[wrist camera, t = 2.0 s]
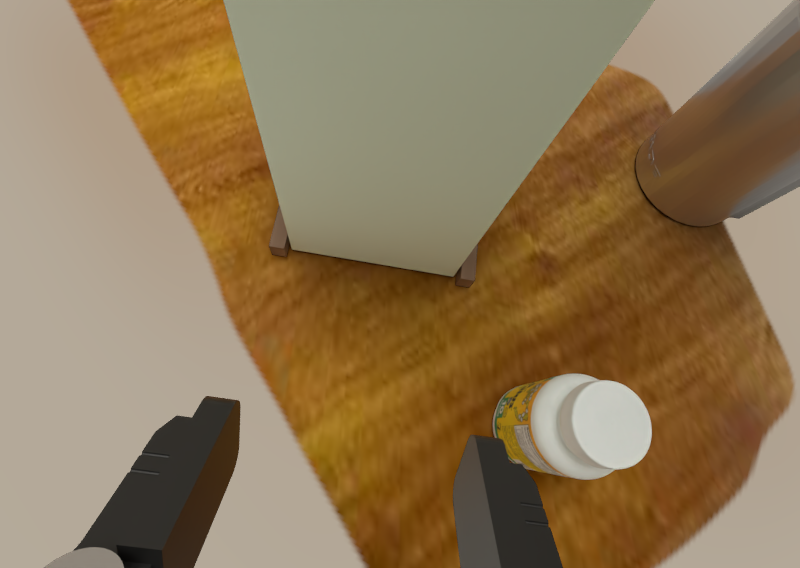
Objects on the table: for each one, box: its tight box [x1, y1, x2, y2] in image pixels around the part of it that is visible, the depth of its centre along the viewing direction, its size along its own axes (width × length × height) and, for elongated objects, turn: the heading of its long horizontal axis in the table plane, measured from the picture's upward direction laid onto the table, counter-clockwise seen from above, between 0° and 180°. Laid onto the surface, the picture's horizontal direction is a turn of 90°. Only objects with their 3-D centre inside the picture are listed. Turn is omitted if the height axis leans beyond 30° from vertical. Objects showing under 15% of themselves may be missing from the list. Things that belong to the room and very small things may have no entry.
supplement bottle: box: [493, 373, 652, 480], centre depth 25 cm, size 5×5×10 cm
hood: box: [223, 0, 655, 277], centre depth 22 cm, size 12×10×24 cm
